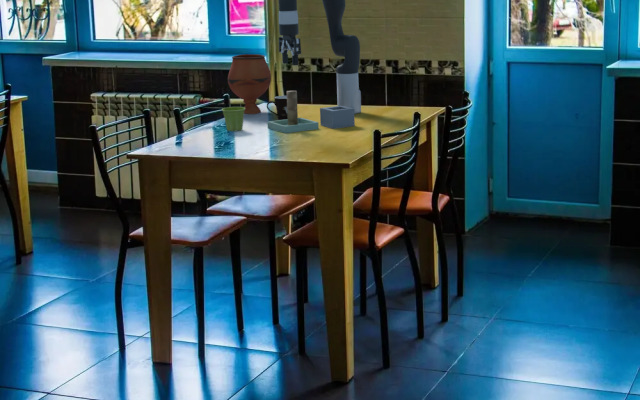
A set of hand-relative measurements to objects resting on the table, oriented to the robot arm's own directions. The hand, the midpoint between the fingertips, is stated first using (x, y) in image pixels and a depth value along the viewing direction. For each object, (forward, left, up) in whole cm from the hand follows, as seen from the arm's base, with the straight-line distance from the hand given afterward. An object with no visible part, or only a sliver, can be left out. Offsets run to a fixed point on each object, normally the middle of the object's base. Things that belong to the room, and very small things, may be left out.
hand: (290, 64), depth 407 cm
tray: (0, 0, -25) cm, 25 cm away
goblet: (-5, -49, -26) cm, 56 cm away
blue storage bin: (-17, +6, -25) cm, 31 cm away
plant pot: (+20, -12, -26) cm, 35 cm away
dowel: (0, 0, -25) cm, 25 cm away
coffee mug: (-5, -19, -26) cm, 32 cm away
